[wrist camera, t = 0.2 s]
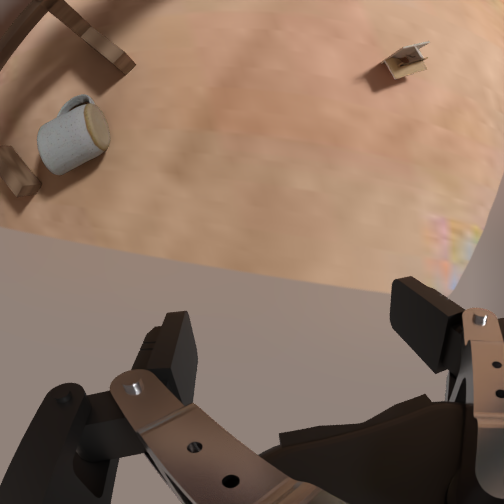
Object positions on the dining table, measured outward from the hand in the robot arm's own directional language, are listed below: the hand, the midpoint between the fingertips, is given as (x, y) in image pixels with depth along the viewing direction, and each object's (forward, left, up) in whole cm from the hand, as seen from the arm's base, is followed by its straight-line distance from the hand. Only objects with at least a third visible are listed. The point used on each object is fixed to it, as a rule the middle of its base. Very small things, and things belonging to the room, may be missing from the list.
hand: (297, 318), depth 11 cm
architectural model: (-22, +24, -30) cm, 44 cm away
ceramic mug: (-15, -22, -29) cm, 40 cm away
